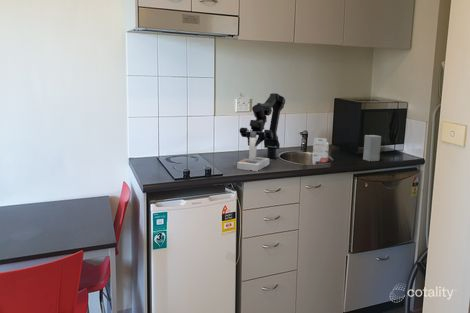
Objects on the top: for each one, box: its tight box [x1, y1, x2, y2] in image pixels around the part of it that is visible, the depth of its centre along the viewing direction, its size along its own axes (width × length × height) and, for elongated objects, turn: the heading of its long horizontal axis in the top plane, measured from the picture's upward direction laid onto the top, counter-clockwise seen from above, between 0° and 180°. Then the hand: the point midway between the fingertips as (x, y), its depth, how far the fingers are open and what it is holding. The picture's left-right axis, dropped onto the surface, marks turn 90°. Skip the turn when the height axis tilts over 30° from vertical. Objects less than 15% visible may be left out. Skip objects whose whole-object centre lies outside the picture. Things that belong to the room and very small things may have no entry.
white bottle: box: [248, 130, 258, 159], centre depth 237 cm, size 4×4×15 cm
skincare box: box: [362, 134, 382, 162], centre depth 268 cm, size 8×7×16 cm
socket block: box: [236, 156, 271, 172], centre depth 244 cm, size 20×12×4 cm, turn 156°
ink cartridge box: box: [312, 137, 330, 163], centre depth 262 cm, size 9×5×15 cm, turn 62°
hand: (252, 145), depth 236 cm, fingers closed on white bottle, 4 cm apart
